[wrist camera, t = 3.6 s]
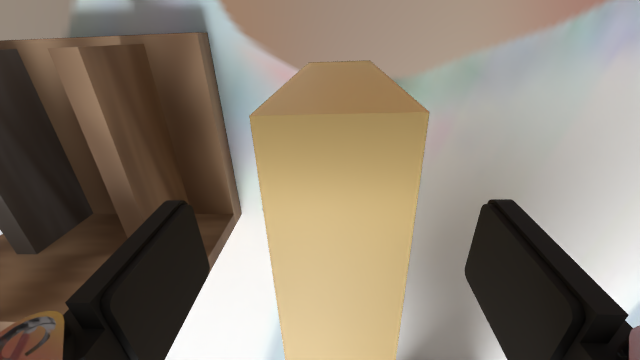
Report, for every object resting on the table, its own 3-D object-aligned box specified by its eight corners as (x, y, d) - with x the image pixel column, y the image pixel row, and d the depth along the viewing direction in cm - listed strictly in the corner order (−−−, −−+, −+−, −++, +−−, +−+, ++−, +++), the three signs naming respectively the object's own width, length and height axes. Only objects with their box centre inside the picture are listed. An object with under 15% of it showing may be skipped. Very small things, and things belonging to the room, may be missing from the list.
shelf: (207, 32, 19) (42, 30, 8) (241, 214, 25) (172, 340, 15) (-32, 42, 20) (-434, 51, 9) (58, 213, 26) (-124, 328, 16)
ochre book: (369, 60, 19) (429, 111, 6) (364, 193, 23) (393, 378, 11) (308, 62, 19) (249, 115, 7) (315, 193, 23) (287, 373, 11)
